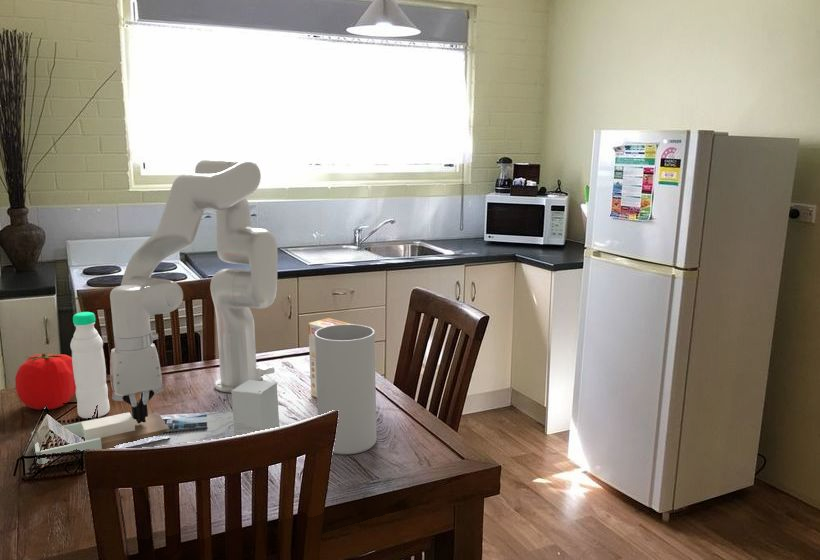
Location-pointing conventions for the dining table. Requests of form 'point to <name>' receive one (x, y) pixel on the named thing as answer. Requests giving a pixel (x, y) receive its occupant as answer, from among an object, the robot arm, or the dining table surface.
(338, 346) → the cylinder vase
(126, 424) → the tile
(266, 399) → the supplement box
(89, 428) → the tile
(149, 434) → the board
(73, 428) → the tray
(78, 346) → the water bottle
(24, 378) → the tomato
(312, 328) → the coffeecake box
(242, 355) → the robot arm
